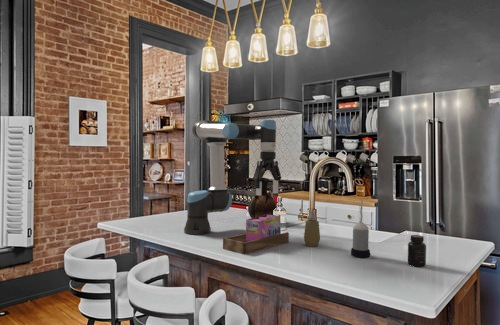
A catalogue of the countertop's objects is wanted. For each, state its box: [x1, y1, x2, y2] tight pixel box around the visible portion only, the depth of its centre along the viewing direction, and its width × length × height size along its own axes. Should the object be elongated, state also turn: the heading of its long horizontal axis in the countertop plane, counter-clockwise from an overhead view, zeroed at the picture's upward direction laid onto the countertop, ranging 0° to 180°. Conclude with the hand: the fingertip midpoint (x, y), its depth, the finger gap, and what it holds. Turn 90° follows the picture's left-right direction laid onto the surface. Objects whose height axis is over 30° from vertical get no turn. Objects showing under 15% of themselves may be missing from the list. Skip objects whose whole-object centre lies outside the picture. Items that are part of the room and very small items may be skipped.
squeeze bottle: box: [303, 208, 321, 247], centre depth 181 cm, size 8×8×18 cm
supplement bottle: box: [407, 234, 427, 268], centre depth 150 cm, size 7×7×12 cm
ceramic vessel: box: [247, 176, 277, 219], centre depth 241 cm, size 21×18×30 cm
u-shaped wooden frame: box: [222, 232, 290, 255], centre depth 179 cm, size 14×33×5 cm, turn 138°
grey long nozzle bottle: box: [350, 199, 371, 259], centre depth 163 cm, size 8×8×25 cm
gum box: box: [245, 214, 282, 242], centre depth 183 cm, size 24×8×14 cm, turn 149°
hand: (267, 194), depth 181 cm, fingers open, 13 cm apart
